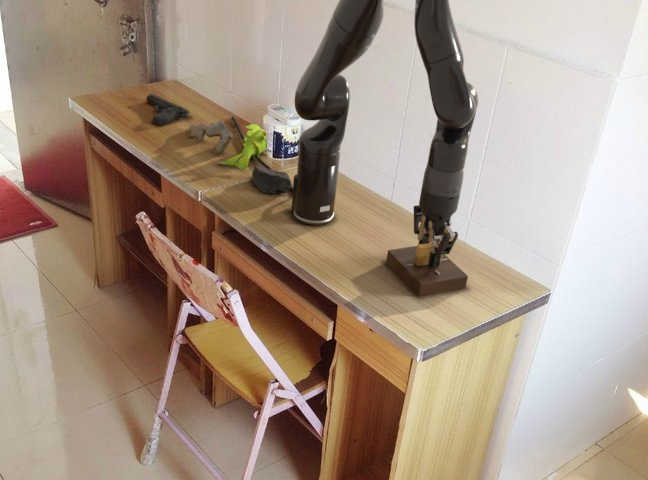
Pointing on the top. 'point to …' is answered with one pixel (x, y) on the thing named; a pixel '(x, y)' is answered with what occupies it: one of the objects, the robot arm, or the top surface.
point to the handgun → (166, 110)
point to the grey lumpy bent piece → (213, 134)
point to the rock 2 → (271, 180)
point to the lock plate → (426, 273)
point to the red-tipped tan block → (423, 254)
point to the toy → (250, 147)
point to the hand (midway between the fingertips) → (427, 261)
